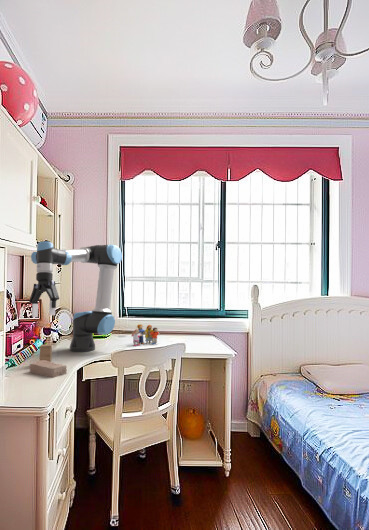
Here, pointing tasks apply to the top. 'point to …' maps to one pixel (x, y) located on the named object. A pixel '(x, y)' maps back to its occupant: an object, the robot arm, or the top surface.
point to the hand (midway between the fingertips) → (43, 316)
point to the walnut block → (45, 352)
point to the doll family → (150, 335)
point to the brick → (48, 368)
